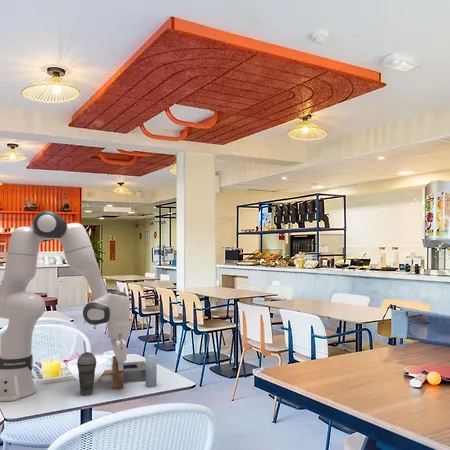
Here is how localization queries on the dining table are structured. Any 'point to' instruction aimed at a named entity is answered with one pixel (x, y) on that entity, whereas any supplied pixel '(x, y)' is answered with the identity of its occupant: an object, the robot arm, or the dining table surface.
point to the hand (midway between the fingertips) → (119, 366)
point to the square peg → (117, 375)
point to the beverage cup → (86, 372)
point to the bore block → (134, 371)
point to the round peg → (151, 370)
